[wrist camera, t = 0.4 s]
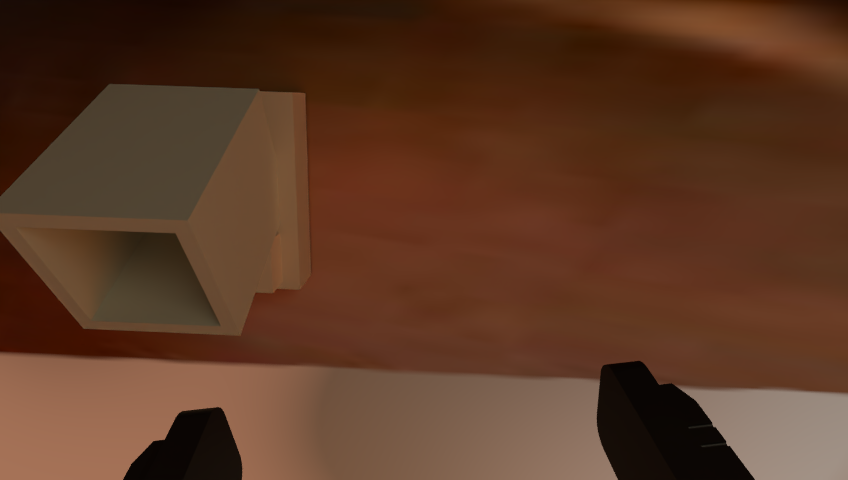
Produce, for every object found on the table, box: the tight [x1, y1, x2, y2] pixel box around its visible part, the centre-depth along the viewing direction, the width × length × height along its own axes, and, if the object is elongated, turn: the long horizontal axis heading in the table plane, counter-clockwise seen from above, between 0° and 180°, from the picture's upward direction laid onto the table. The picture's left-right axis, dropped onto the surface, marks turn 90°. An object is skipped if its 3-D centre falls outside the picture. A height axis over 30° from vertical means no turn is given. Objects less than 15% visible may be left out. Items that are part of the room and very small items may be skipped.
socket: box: [0, 84, 311, 336], centre depth 28 cm, size 13×11×15 cm
